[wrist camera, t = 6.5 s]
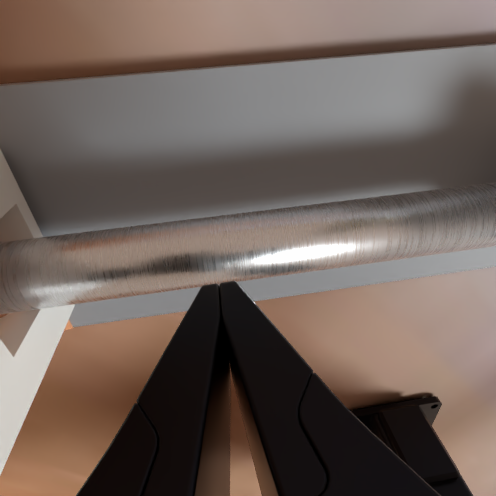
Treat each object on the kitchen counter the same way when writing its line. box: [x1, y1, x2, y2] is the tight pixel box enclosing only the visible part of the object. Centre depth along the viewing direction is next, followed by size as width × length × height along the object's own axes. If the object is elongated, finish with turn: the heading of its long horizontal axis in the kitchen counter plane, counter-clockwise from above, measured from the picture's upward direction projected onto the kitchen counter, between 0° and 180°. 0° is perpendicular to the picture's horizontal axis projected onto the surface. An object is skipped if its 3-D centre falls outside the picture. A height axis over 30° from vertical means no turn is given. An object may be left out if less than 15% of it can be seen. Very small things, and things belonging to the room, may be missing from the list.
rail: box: [0, 182, 496, 318], centre depth 10 cm, size 30×4×4 cm, turn 94°
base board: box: [0, 43, 496, 330], centre depth 12 cm, size 31×9×1 cm, turn 94°
